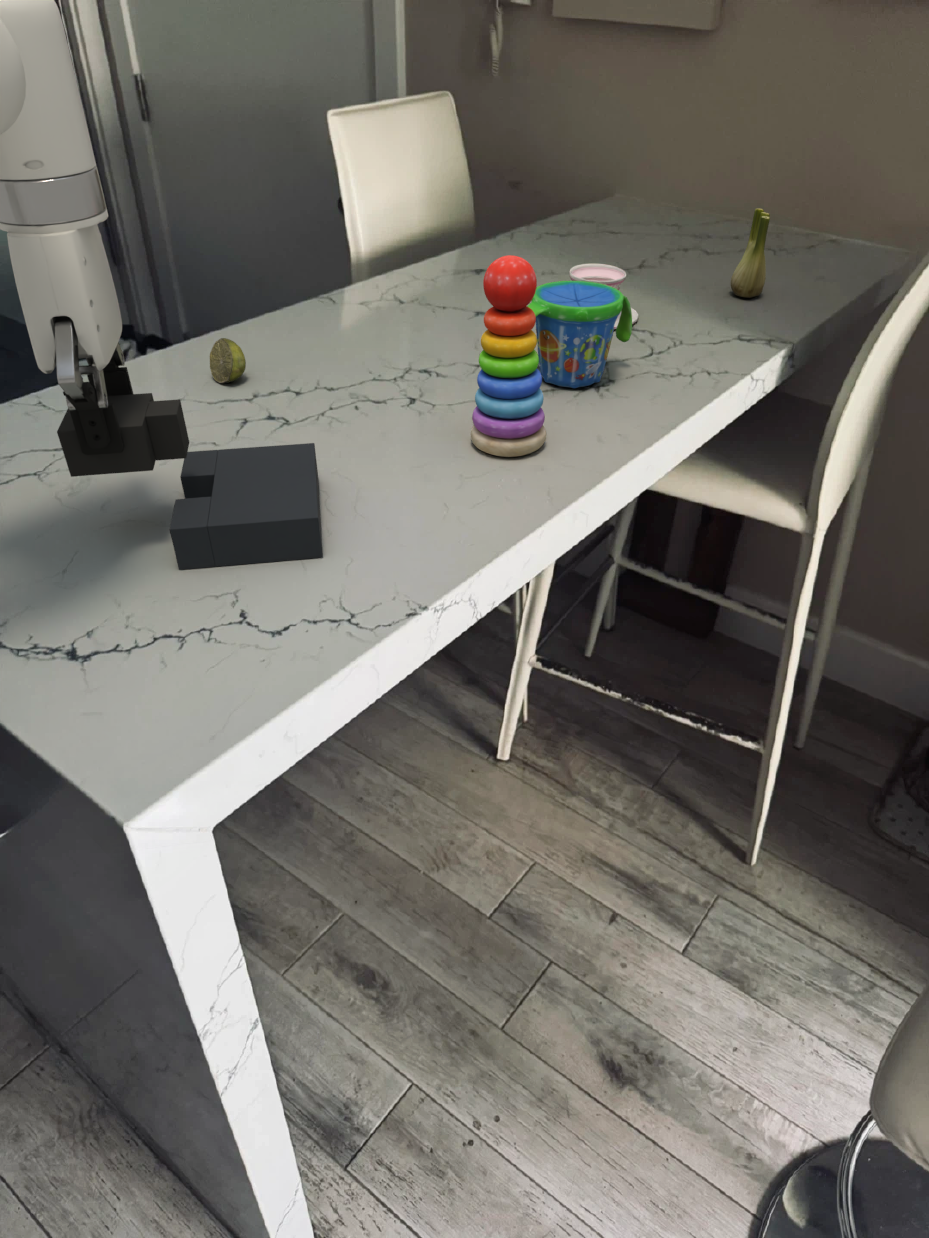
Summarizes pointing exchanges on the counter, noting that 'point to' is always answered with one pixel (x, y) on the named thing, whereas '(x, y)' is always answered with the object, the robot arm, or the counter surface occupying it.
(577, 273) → the teacup
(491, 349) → the stacking toy
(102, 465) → the dark tabbed block
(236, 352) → the lime
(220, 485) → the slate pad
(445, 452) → the counter surface
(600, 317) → the snack cup
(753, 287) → the fennel bulb
